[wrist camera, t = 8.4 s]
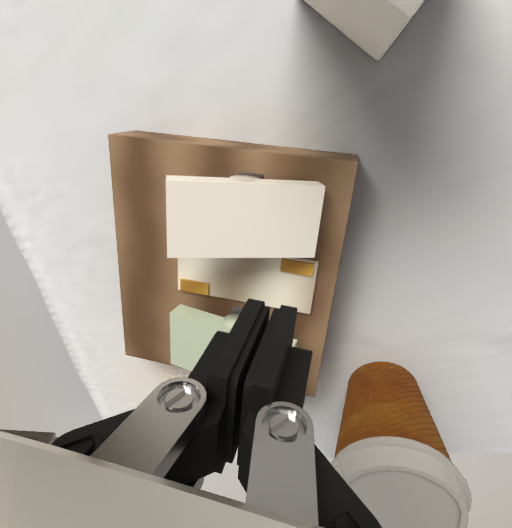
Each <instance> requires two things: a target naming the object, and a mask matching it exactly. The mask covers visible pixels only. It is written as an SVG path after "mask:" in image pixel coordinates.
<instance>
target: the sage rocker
mask: <svg viewBox="0 0 512 528" xmlns="http://www.w3.org/2000/svg"><path fill="white" fill-rule="evenodd" d="M238 316H239V314H230V315H227V316H225V317H221V316H218V315H214V314H211V313H208V312H205V311H201V310H198V309H195V308H192V307H188V306H185V305H182V304H180V305H179V306H177V307H176V308H175V309H174V310H172V311H171V312H170V354H171V364H173V365H176V366H178V367H181V368H184V369H186V370H189V371H192V370H193V369H194V367H195V365H196V364H197V362H198V361H199V359H200V357H201V356H202V354H203V352H204V351H205V349H206V348H207V346H208V344H209V343H210V341H211V339H212V338H213V336H214V335H215V333H216V332H217V331H223V332H227V333H229V332H230V330H231V329H232V327H233V325H234V323H235V322H236V320H237V318H238ZM292 347H297V340H296V339H293V344H292Z"/></svg>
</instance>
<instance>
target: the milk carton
mask: <svg viewBox="0 0 512 528" xmlns="http://www.w3.org/2000/svg"><path fill="white" fill-rule="evenodd" d="M304 1H305V2H306V3H307V4H308V5H310V6H311V7H312V8H313V9H314V10H316V11H317V12H318V13H319V14H320V15H322V16H323V17H324V18H325V19H327V20H328V21H329V22H330V23H331V24H333V25H334V26H335V27H336V28H337V29H339V30H340V31H341V32H342V33H343V34H345V35H346V36H347V37H348V38H349V39H351V40H352V41H353V42H354V43H355V44H357V45H358V46H359V47H360V48H362V49H363V50H364V51H365V52H366V53H368V54H369V55H370V56H371V57H373V58H374V59H375V60H377V61H379V60H380V59H381V58H382V56H383V55H384V54H385V52H386V51H387V50H388V48H389V47H390V46H391V44H392V43H393V42H394V40H395V39H396V38H397V37H398V35H399V34H400V33H401V31H402V30H403V29H404V27H405V26H406V25H407V23H408V22H409V21H410V19H411V18H412V17H413V16H414V14H415V13H416V12H417V10H418V9H419V8H420V6H421V5H422V4H423V2H424V1H425V0H304Z"/></svg>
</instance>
